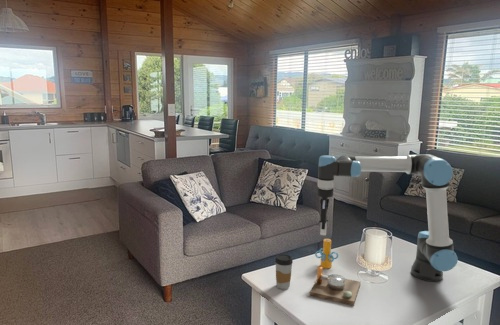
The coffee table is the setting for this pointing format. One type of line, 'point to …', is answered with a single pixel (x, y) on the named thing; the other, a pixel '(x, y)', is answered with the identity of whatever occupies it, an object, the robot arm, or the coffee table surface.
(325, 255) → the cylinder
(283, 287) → the coffee cup
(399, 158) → the robot arm
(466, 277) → the coffee table surface
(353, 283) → the base
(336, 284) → the knob
